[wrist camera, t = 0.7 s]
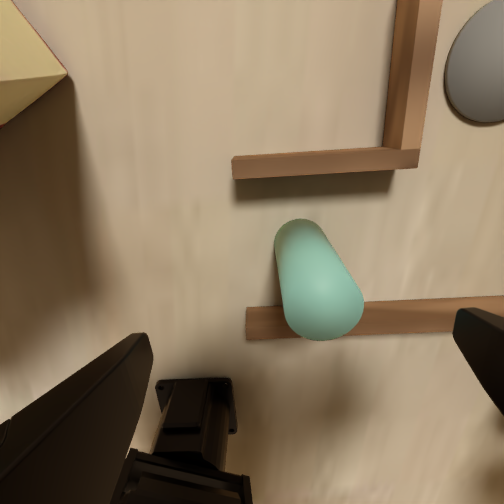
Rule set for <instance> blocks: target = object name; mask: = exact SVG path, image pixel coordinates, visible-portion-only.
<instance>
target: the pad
mask: <svg viewBox="0 0 504 504" xmlns="http://www.w3.org/2000/svg"><path fill="white" fill-rule="evenodd" d="M445 86H446V91H447V95H448V98H449V100H450V102H451V104H452V105H453V107H454V108H455V109H456V110H457V111H458V112H459V113H460V114H461V115H463V116H464V117H466V118H468V119H470V120H473V121H478V122H495V121H501V120H504V0H493V1H491V2H490V3H488V4H486V5H485V6H483V7H482V8H481V9H480V10H478V11H477V12H476V13H475V14H474V15H473V16H472V17H471V18H470V19H469V20H468V21H467V22H466V24H465V25H464V26H463V28H462V29H461V30H460V32H459V33H458V35H457V37H456V39H455V40H454V42H453V45H452V47H451V49H450V52H449V55H448V58H447V63H446V68H445Z"/></svg>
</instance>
